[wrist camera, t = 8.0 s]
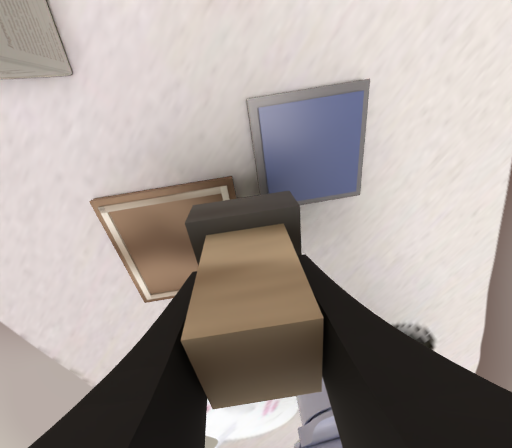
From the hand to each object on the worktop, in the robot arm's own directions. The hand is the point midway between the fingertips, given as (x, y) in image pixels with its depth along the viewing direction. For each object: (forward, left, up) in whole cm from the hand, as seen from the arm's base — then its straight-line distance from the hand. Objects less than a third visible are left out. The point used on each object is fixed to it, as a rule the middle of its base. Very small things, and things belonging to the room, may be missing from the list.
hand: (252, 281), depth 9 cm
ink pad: (+3, -5, -10) cm, 12 cm away
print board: (-3, +6, -10) cm, 12 cm away
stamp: (0, 0, -3) cm, 3 cm away
